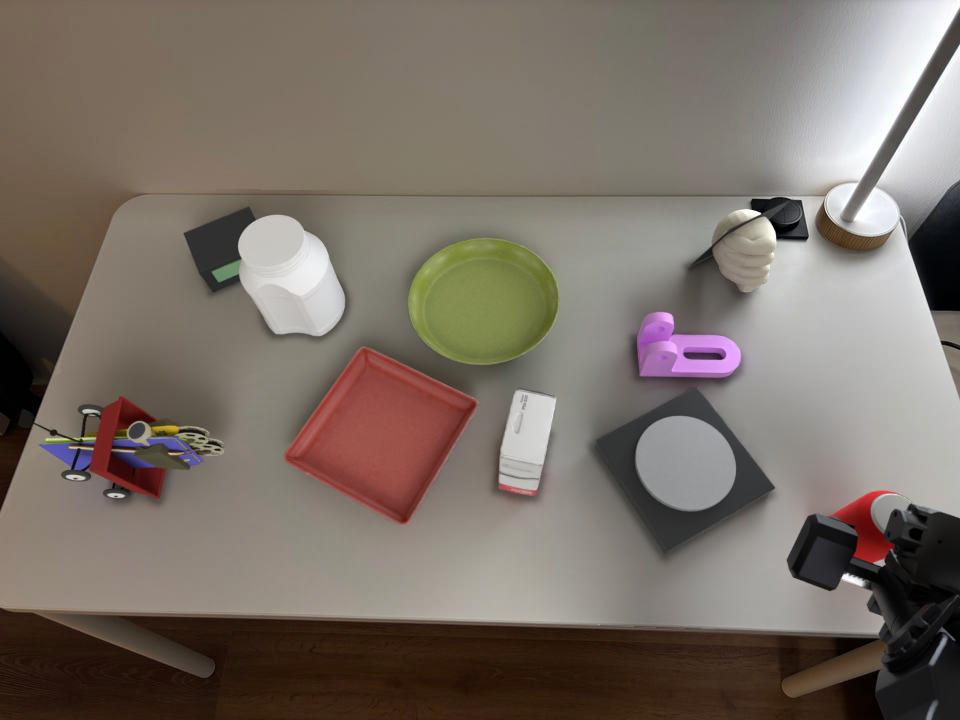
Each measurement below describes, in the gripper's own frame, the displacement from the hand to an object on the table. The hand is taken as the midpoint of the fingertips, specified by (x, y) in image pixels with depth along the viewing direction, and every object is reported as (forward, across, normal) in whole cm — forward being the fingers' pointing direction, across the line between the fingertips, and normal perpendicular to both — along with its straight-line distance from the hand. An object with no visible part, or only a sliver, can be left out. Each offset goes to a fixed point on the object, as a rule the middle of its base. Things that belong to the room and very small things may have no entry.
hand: (880, 535), depth 66 cm
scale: (+8, +19, +4) cm, 21 cm away
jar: (+11, +74, +1) cm, 75 cm away
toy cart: (-8, +80, +20) cm, 83 cm away
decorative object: (+31, +19, -18) cm, 40 cm away
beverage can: (+7, 0, +5) cm, 9 cm away
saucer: (+18, +50, -5) cm, 54 cm away
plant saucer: (+2, +55, +11) cm, 56 cm away
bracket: (+19, +22, -7) cm, 30 cm away
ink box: (+4, +37, +8) cm, 39 cm away
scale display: (+14, +88, -2) cm, 89 cm away
